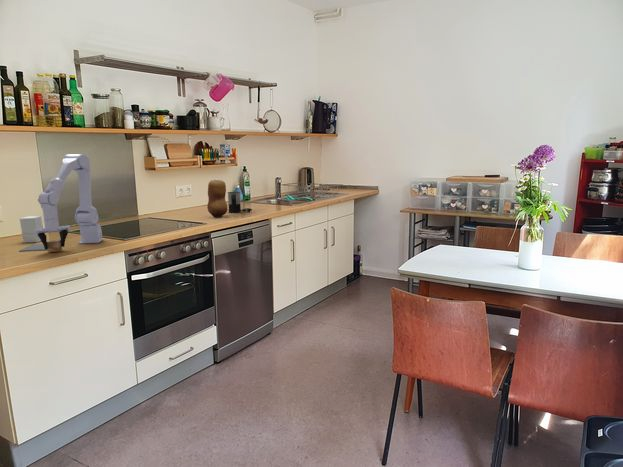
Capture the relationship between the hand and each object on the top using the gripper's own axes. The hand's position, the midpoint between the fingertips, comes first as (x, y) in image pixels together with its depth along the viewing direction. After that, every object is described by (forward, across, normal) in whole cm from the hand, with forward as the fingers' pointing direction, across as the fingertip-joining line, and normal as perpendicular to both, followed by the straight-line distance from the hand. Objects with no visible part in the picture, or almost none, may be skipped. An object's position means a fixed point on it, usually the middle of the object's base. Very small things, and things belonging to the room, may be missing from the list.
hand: (54, 247), depth 210 cm
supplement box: (+2, 0, -37) cm, 37 cm away
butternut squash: (+2, -109, -32) cm, 114 cm away
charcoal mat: (+2, +2, -15) cm, 15 cm away
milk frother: (+2, -133, -40) cm, 139 cm away
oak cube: (+1, 0, 0) cm, 1 cm away
